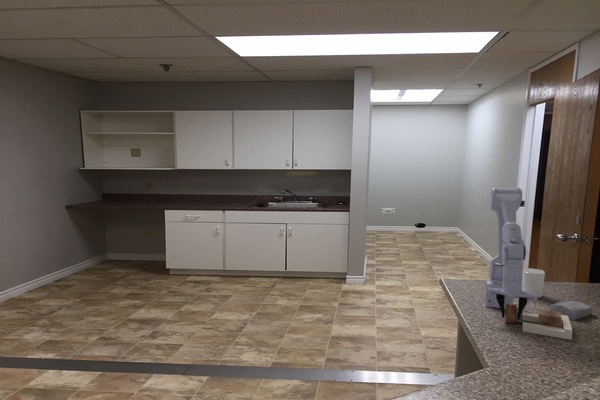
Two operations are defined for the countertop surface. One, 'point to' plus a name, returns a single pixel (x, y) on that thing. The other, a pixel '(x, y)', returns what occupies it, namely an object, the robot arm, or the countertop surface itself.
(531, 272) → the white cup
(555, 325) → the string block
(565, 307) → the stone block
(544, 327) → the frame
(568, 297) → the countertop surface
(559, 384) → the countertop surface
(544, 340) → the countertop surface
